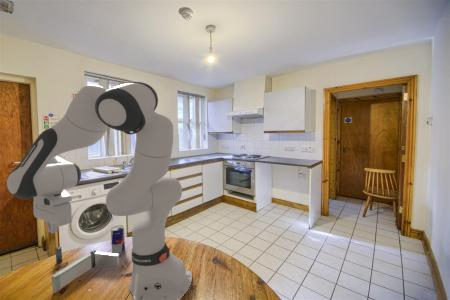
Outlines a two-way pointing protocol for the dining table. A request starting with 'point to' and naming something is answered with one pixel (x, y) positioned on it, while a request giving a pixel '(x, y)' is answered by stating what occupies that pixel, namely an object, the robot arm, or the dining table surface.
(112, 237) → the energy drink
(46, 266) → the dining table surface
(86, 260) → the gate
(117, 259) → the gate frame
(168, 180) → the robot arm
